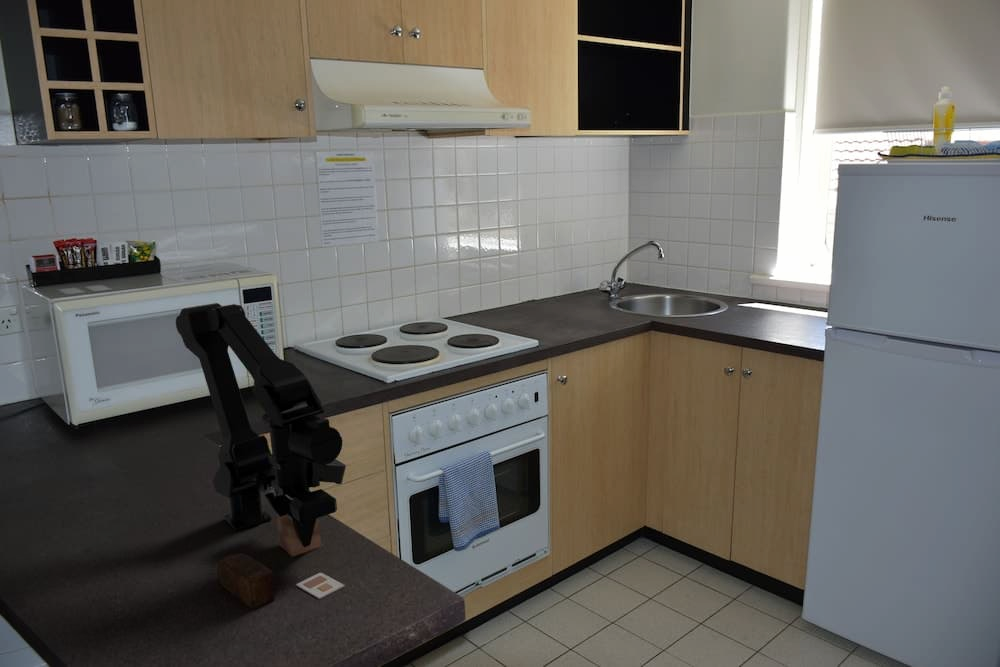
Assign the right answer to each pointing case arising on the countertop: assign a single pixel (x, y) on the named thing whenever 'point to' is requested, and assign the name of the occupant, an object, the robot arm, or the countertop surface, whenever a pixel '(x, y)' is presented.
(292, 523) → the robot arm
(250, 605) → the brick
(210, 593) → the countertop surface
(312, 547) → the top block
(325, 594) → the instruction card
